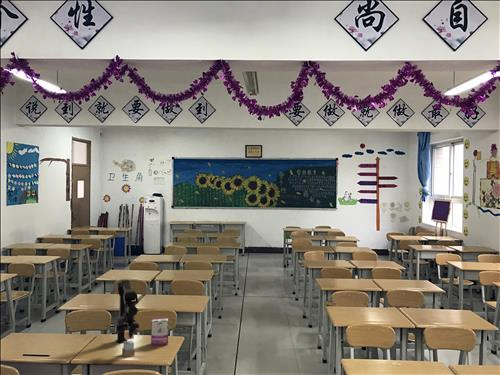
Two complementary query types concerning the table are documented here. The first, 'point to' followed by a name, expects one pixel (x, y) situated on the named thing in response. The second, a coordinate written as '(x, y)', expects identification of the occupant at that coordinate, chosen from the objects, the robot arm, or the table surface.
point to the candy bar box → (159, 332)
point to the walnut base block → (128, 352)
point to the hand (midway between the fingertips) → (129, 336)
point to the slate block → (128, 345)
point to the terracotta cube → (126, 335)
